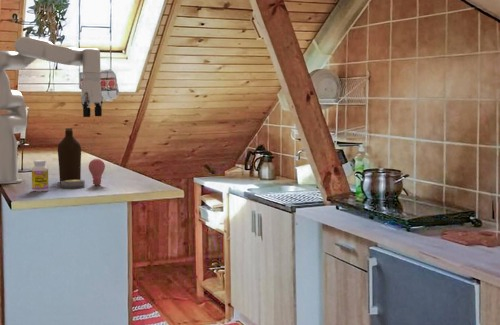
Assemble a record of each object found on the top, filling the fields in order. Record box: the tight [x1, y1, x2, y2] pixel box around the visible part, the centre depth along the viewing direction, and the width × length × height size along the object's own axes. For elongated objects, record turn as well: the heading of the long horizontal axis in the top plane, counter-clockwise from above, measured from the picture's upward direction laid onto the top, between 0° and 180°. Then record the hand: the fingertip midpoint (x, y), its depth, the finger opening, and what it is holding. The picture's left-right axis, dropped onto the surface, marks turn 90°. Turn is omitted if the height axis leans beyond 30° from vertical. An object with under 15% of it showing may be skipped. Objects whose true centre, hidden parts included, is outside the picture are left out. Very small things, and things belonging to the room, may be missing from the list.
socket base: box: [60, 179, 86, 189], centre depth 285 cm, size 10×10×3 cm
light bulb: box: [88, 158, 106, 186], centre depth 289 cm, size 7×7×12 cm
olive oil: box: [57, 127, 82, 183], centre depth 301 cm, size 11×11×25 cm
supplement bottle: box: [31, 159, 49, 193], centre depth 273 cm, size 7×7×13 cm
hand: (92, 116), depth 283 cm, fingers open, 9 cm apart
